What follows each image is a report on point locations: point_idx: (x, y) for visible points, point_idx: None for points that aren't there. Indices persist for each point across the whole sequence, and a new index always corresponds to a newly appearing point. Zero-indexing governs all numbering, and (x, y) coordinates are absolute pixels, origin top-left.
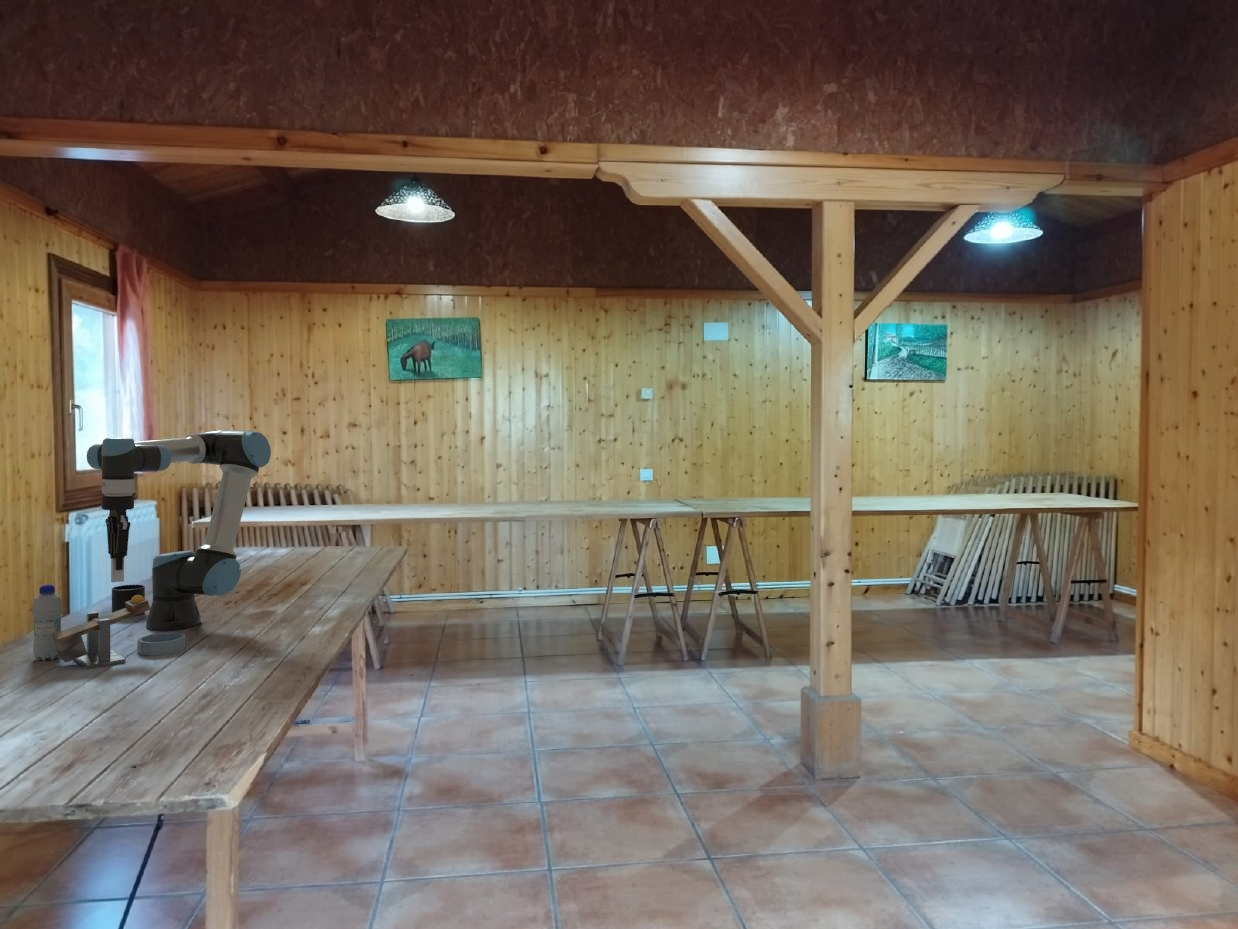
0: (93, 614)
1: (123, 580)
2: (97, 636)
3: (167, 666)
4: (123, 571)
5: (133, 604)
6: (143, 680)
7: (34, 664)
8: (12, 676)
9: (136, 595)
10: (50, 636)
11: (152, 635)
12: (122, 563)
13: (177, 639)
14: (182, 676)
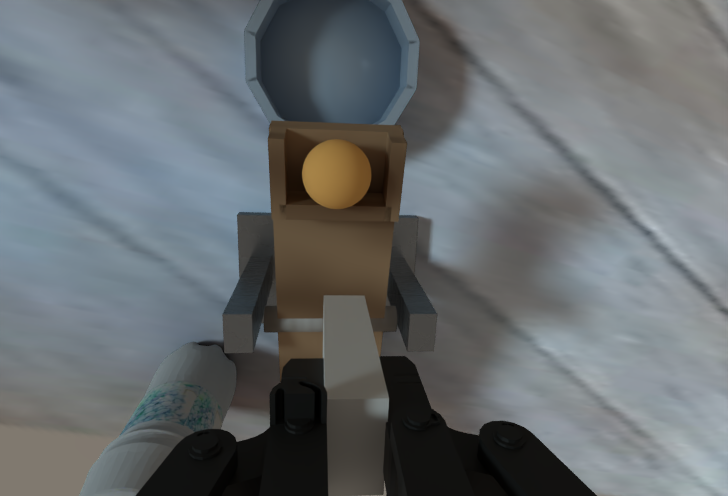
0: (253, 330)
1: (363, 300)
2: (265, 279)
3: (554, 133)
4: (371, 331)
5: (381, 209)
6: (635, 236)
7: (248, 404)
8: None
9: (342, 187)
10: (222, 415)
11: (255, 70)
12: (423, 390)
13: (410, 24)
14: (688, 141)
